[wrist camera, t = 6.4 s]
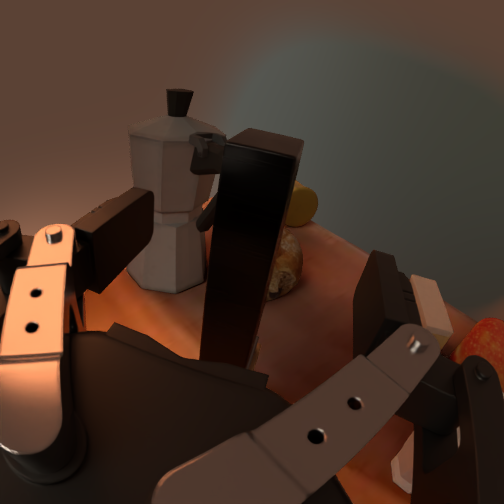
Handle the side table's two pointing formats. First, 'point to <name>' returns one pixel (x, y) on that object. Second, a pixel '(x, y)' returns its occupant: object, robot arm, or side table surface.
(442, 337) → the slotted wooden block
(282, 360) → the side table surface
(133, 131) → the coffee maker
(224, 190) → the knife
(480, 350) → the apple
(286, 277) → the bread roll
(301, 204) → the vase
